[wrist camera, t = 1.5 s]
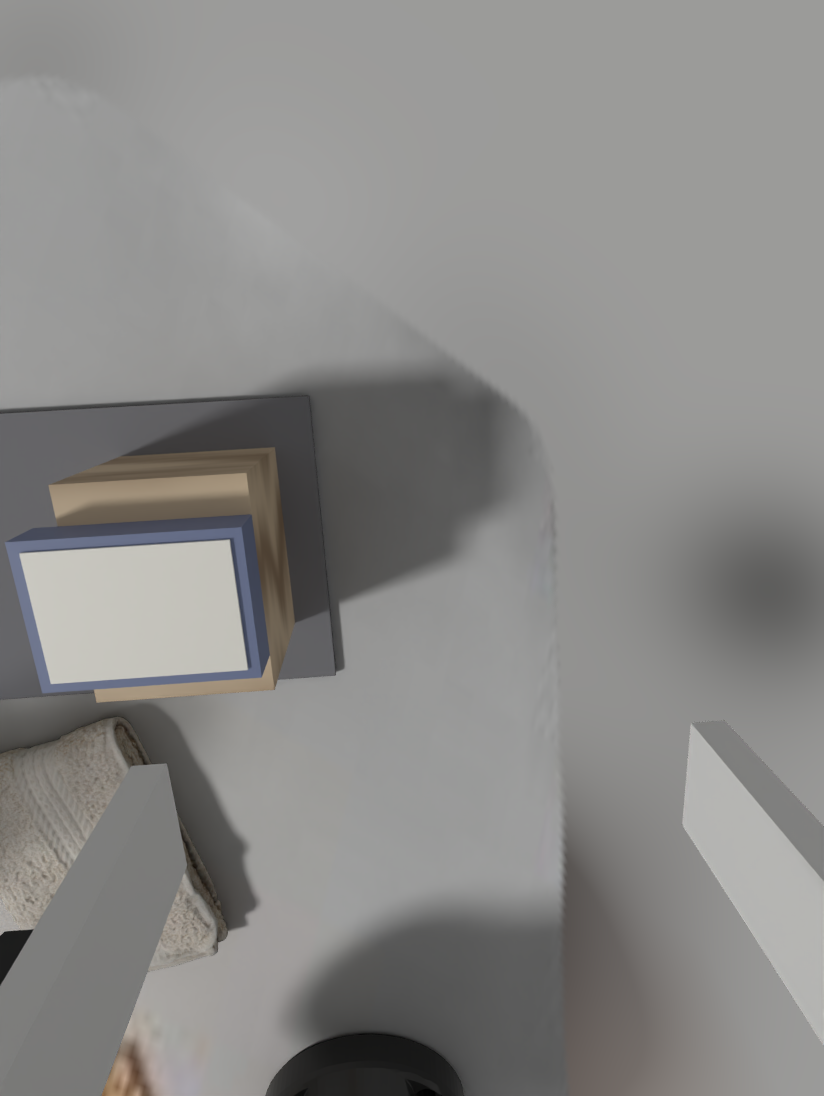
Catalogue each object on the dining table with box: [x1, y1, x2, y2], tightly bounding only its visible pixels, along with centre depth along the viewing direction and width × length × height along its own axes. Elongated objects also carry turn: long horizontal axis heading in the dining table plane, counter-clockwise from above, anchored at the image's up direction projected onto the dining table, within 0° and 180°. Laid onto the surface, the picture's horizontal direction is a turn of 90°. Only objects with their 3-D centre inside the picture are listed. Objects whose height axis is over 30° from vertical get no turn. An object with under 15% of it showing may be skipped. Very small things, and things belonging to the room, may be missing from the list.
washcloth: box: [0, 717, 228, 972], centre depth 40 cm, size 12×18×3 cm, turn 18°
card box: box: [5, 514, 270, 693], centre depth 27 cm, size 6×9×2 cm
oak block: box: [48, 447, 295, 703], centre depth 31 cm, size 10×8×8 cm
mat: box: [0, 396, 336, 700], centre depth 35 cm, size 16×24×1 cm, turn 93°
